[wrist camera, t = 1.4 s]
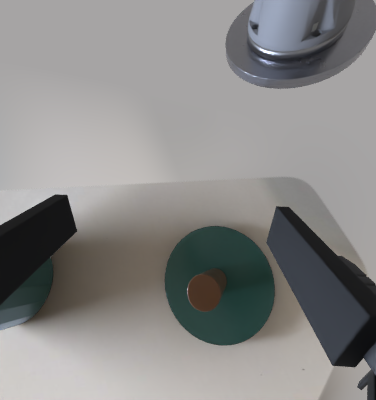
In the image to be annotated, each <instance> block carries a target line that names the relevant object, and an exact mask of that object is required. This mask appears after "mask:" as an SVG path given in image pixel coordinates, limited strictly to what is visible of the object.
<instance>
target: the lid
mask: <svg viewBox="0 0 376 400" xmlns="http://www.w3.org/2000/svg"><path fill="white" fill-rule="evenodd" d="M165 290H166V295H167V299H168V302H169V305H170V307H171V310H172V312H173V314H174V315H175V317H176V319H177V320H178V321H179V323H180V324H181V325H182V326H183V327H184V328H185V329H186V330H187V331H188V332H189V333H191V334H192V335H193V336H195V337H197V338H198V339H200V340H202V341H205V342H207V343H211V344H215V345H233V344H238V343H241V342H243V341H246V340H247V339H249V338H251V337H252V336H254V335H255V334H256V333H257V332H258V331H259V330H260V329H261V328H262V327H263V326H264V324H265V323H266V321H267V319H268V317H269V315H270V313H271V310H272V307H273V303H274V296H275V286H274V278H273V274H272V270H271V268H270V265H269V263H268V261H267V259H266V257H265V255H264V254H263V252H262V251H261V250H260V248H259V247H258V246H257V245H256V244H255V243H254V242H253V241H252V240H251V239H250V238H248V237H247V236H245V235H244V234H242V233H240V232H238V231H236V230H233V229H231V228H226V227H220V226H210V227H204V228H201V229H198V230H195V231H193V232H191V233H190V234H188V235H187V236H185V237H184V238H183V239H182V240H181V241H180V242H179V243H178V244H177V245H176V247H175V248H174V250H173V251H172V253H171V255H170V258H169V260H168V263H167V267H166V272H165Z"/></svg>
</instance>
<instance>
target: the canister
mask: <svg viewBox="0 0 376 400" xmlns="http://www.w3.org/2000/svg"><path fill="white" fill-rule="evenodd" d="M52 279H53V265H52V260H51V258H49V259H48V260H47V261H46V262H45V263H44V264H42V265H41V266H40V267H39V268H38V269H37V270H36V271H35V272H34V273H33V274H32V275H31V276H30V277H29V278H28V279H27V280H26V281H25V282H24V283H23V284H22V285H21V286H20V287H19V288H18V289H17V290H16V291H14V292H13V293H12V294H11V295H10V296H9V297H8V298H7V299H6V300H5V301H4V302H3V303H2V304H1V305H0V330H3V329H6V328H9V327H13V326H16V325H19V324H21V323H23V322H25V321H27V320H29V319H30V318H32V317H33V316H34V315H35V314H36V313H37V312H38V311H39V310H40V308H41V307H42V306H43V304H44V302H45V301H46V299H47V297H48V294H49V292H50V288H51V285H52Z"/></svg>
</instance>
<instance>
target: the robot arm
mask: <svg viewBox="0 0 376 400" xmlns="http://www.w3.org/2000/svg"><path fill="white" fill-rule="evenodd" d="M355 1H356V0H254V4H253V7H252V10H251V14H250V17H249V22H248V29H247V41H248V44H249V46H250V48H251V49H252V50H253V51H254V52H255V53H256V54H258V55H259V56H261V57H264V58H267V59H271V60H277V61H290V60H298V59H303V58H306V57H309V56H312V55H315V54H317V53H319V52H321V51H323V50H325V49H327V48H328V47H330V46H331V45H332V44H334V43H335V42H336V41H337V40H338V39H339V38H340V37H341V36H342V34H343V33H344V31H345V29H346V27H347V25H348V23H349V21H350V19H351V16H352V13H353V10H354V6H355ZM76 232H77V229H76V225H75V222H74V218H73V214H72V211H71V207H70V204H69V200H68V196H67V195H54V196H52V197H50V198H48V199H46V200H45V201H43V202H41V203H39V204H38V205H36V206H34V207H32V208H30V209H29V210H27V211H25V212H23V213H21V214H20V215H18V216H16V217H14V218H13V219H11V220H9V221H7V222H5V223H4V224H2V225H0V305H1V304H2V303H3V302H4V301H5V300H6V299H7V298H8V297H9V296H10V295H11V294H12V293H13V292H14V291H16V290H17V289H18V288H19V287H20V286H21V285H22V284H23V283H24V282H25V281H26V280H27V279H28V278H29V277H30V276H31V275H32V274H33V273H34V272H35V271H36V270H37V269H38V268H39V267H40V266H41V265H42V264H44V263H45V262H46V261H47V260H48V259H49V258H50V257H51V256H52V255H53V254H54V253H55V252H56V251H57V250H58V249H59V248H60V247H61V246H62V245H63V244H64V243H65V242H66V241H67V240H68V239H69V238H70V237H71V236H73V235H74V234H75V233H76ZM266 243H267V245H268V246H269V248H270V250H271V252H272V254H273V256H274V258H275V259H276V261H277V263H278V265H279V267H280V269H281V271H282V272H283V274H284V276H285V278H286V280H287V282H288V284H289V285H290V287H291V289H292V291H293V293H294V295H295V297H296V298H297V300H298V302H299V304H300V306H301V308H302V310H303V311H304V313H305V315H306V317H307V319H308V321H309V323H310V325H311V326H312V328H313V330H314V332H315V334H316V336H317V338H318V339H319V341H320V343H321V345H322V347H323V349H324V351H325V352H326V354H327V356H328V358H329V360H330V362H331V364H332V365H333V366H345V367H356V366H357V365H358V363H359V362H360V361H361V360H362V359H363V358H364V359H365V360H366V362H367V363H368V365H369V366H370V368H371V370H370V371H369V372H368V373H367V374H366V375H365V377H363V378H362V379H361V381H360V382H359V384H358V388H359V389H361V390H362V389H363V388H364V387H365V386H366V385H368V388H367V391H368V392H367V395H368V396H367V400H376V285H375V283H374V282H373V281H372V280H371V279H370V278H369V277H366V275H365V274H364V273H363V272H362V271H361V270H360V269H359V268H358V267H357V266H356V265H355V264H353V263H352V262H350V261H349V260H347V259H345V258H344V257H342V256H337V255H336V254H335V253H334V252H333V251H332V250H331V249H330V248H329V247H328V246H327V245H326V244H325V243H324V242H323V241H322V240H321V239H320V238H319V237H318V236H317V235H316V234H315V233H314V232H313V231H312V230H311V229H310V228H309V227H308V226H307V225H306V224H305V223H304V222H303V221H302V220H301V219H300V218H299V217H298V216H297V215H296V214H295V213H294V212H293V211H292V210H291V209H290V208H289V207H277V206H276V210H275V213H274V217H273V220H272V224H271V228H270V231H269V235H268V238H267V242H266Z"/></svg>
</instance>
